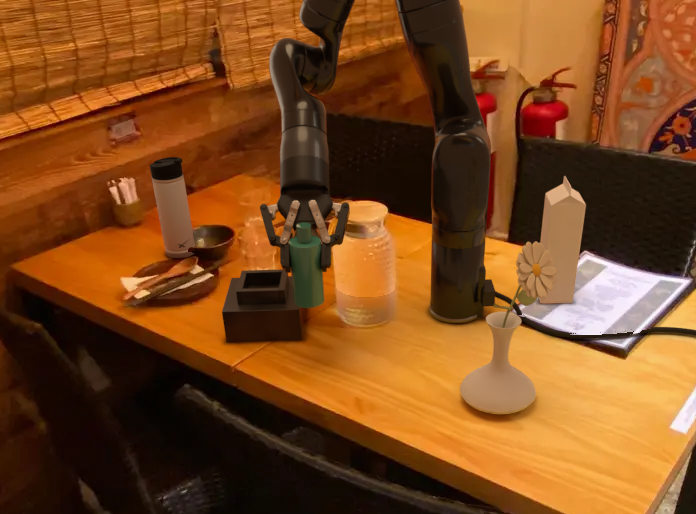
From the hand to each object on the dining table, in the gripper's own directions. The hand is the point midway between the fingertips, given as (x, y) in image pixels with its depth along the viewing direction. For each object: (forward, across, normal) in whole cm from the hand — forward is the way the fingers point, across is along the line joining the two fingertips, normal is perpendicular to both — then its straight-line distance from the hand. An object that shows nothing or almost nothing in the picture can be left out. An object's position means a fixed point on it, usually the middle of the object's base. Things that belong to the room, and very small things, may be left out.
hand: (306, 270), depth 117 cm
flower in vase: (+20, +29, +5) cm, 35 cm away
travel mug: (-21, -30, +47) cm, 59 cm away
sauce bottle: (+3, 0, +6) cm, 6 cm away
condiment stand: (+1, -9, +24) cm, 25 cm away
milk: (-4, +44, +28) cm, 53 cm away
